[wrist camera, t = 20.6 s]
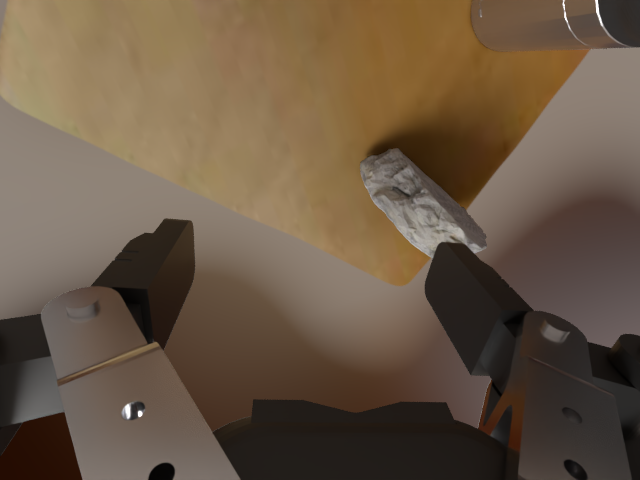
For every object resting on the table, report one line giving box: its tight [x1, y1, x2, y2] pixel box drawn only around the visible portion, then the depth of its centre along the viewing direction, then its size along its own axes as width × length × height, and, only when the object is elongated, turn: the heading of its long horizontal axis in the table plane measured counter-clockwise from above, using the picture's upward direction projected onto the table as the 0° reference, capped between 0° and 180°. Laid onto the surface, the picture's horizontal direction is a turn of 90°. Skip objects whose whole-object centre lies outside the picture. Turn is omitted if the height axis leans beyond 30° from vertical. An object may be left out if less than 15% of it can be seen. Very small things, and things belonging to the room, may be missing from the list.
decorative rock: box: [360, 148, 487, 259], centre depth 39 cm, size 16×7×15 cm, turn 48°
